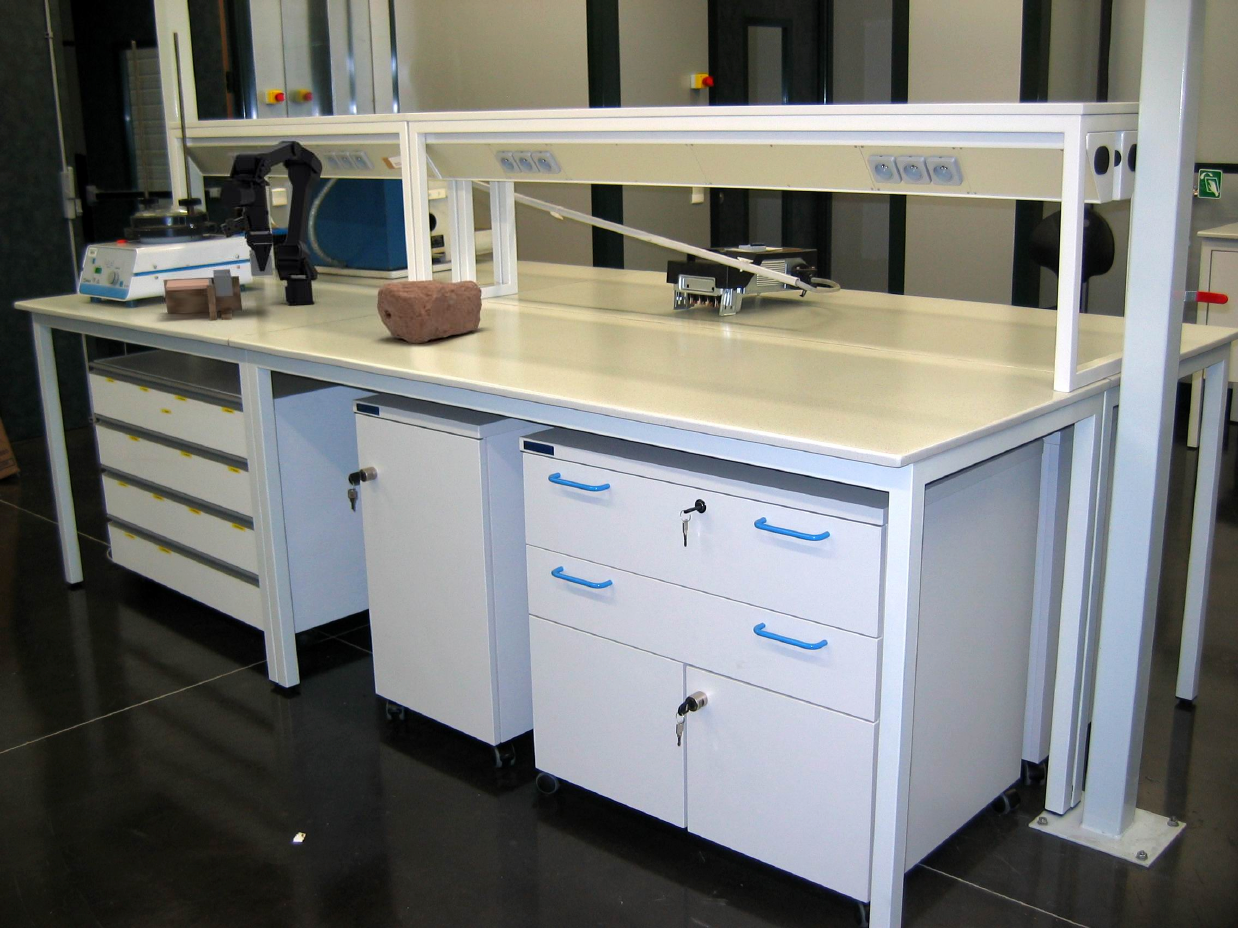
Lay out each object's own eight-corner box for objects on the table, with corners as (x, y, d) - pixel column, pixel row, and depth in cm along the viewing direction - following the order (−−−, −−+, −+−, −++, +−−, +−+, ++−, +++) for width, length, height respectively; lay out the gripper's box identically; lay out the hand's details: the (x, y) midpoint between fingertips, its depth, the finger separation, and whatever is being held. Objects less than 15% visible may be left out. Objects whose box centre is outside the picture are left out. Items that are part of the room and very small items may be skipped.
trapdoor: (231, 289, 289) (229, 269, 287) (233, 295, 276) (230, 275, 275) (169, 292, 284) (166, 272, 282) (167, 299, 271) (164, 278, 270)
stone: (511, 325, 253) (494, 259, 252) (427, 339, 234) (408, 268, 233) (463, 340, 264) (446, 278, 263) (378, 355, 244) (360, 287, 243)
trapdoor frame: (242, 309, 292) (238, 276, 290) (244, 318, 277) (240, 283, 274) (167, 313, 287) (163, 279, 284) (165, 323, 271) (161, 287, 269)
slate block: (271, 273, 285) (269, 249, 283) (273, 275, 281) (270, 250, 279) (251, 274, 284) (248, 249, 282) (252, 276, 279) (249, 251, 277)
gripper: (220, 205, 283) (227, 268, 288) (221, 209, 266) (228, 276, 271) (266, 204, 287) (272, 266, 291) (270, 207, 270) (276, 273, 274)
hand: (261, 270), depth 282 cm, fingers closed on slate block, 5 cm apart
